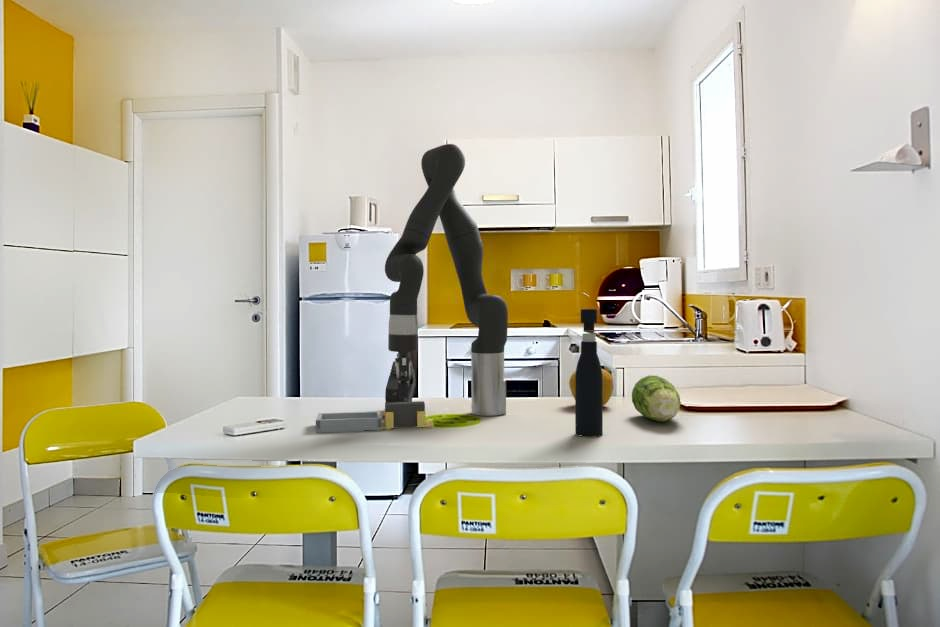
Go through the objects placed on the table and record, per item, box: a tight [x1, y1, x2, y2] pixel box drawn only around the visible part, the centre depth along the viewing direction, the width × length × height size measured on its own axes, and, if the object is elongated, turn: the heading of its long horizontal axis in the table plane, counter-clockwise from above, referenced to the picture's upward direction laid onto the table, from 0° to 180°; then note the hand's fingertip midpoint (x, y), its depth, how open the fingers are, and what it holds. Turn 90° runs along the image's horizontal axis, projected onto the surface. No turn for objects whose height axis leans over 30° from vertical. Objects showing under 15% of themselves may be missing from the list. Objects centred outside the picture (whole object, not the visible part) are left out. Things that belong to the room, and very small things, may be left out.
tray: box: [315, 410, 383, 433], centre depth 178 cm, size 16×10×3 cm, turn 98°
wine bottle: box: [574, 308, 604, 437], centre depth 168 cm, size 6×6×30 cm
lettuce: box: [631, 375, 682, 422], centre depth 184 cm, size 12×21×11 cm, turn 178°
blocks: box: [382, 410, 435, 430], centre depth 180 cm, size 14×7×4 cm, turn 98°
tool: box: [384, 360, 417, 402], centre depth 198 cm, size 6×19×15 cm
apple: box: [568, 368, 614, 406], centre depth 208 cm, size 13×13×11 cm
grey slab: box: [381, 401, 426, 428], centre depth 180 cm, size 11×4×6 cm, turn 98°
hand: (402, 395), depth 180 cm, fingers open, 8 cm apart
